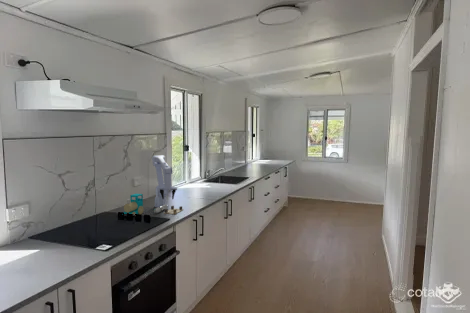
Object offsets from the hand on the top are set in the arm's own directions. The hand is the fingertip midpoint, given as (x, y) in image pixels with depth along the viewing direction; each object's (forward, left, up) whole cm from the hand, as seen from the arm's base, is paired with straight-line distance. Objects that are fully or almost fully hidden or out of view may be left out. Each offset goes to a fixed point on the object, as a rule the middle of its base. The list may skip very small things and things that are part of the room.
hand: (168, 199), depth 245 cm
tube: (-5, -3, -10) cm, 11 cm away
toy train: (-19, -19, -10) cm, 29 cm away
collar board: (+6, -1, -10) cm, 11 cm away
